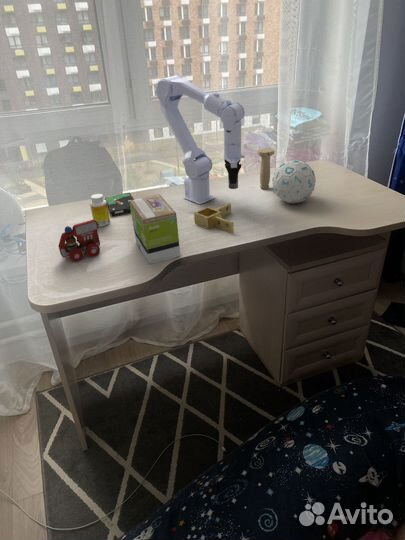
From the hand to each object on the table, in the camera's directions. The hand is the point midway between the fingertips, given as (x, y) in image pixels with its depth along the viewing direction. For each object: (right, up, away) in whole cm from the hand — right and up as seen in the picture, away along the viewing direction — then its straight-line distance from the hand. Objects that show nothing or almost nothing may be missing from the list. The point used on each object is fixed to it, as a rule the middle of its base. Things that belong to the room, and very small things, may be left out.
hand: (232, 181), depth 144 cm
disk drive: (-41, -8, +10) cm, 43 cm away
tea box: (-24, -25, -20) cm, 40 cm away
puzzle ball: (+22, -6, +6) cm, 24 cm away
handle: (+14, +1, +18) cm, 23 cm away
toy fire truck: (-47, -27, -20) cm, 58 cm away
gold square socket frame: (-3, -15, -6) cm, 17 cm away
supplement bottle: (-45, -15, -2) cm, 48 cm away
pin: (0, -2, +1) cm, 2 cm away
